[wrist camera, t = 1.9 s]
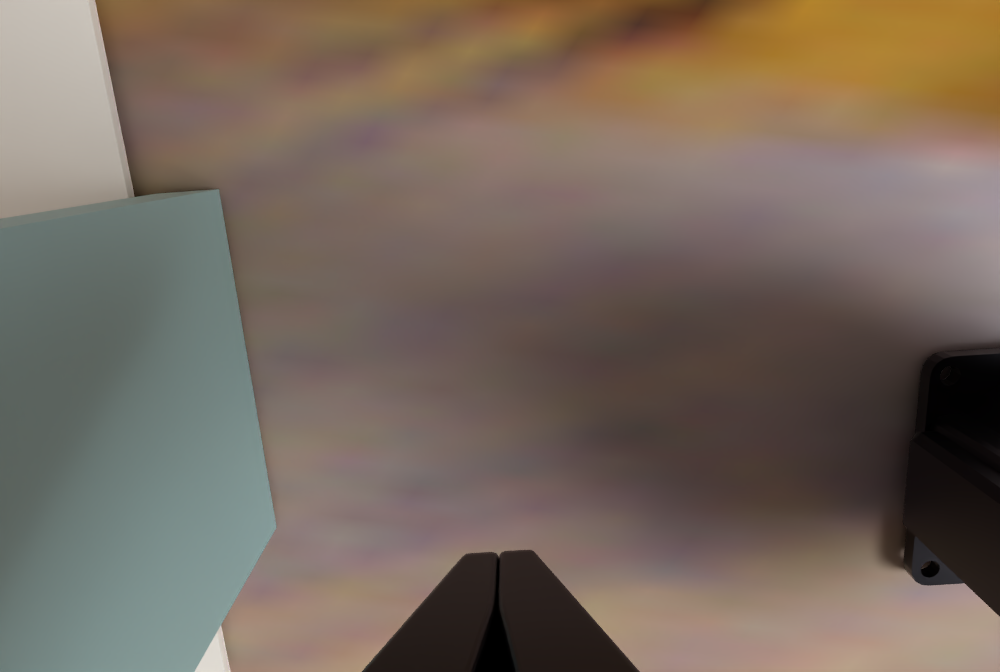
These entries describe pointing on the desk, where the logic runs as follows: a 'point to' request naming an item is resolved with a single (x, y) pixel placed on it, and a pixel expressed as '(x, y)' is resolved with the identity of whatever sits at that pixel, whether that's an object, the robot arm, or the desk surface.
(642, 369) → the desk surface
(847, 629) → the desk surface
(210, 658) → the mat
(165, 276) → the tile
